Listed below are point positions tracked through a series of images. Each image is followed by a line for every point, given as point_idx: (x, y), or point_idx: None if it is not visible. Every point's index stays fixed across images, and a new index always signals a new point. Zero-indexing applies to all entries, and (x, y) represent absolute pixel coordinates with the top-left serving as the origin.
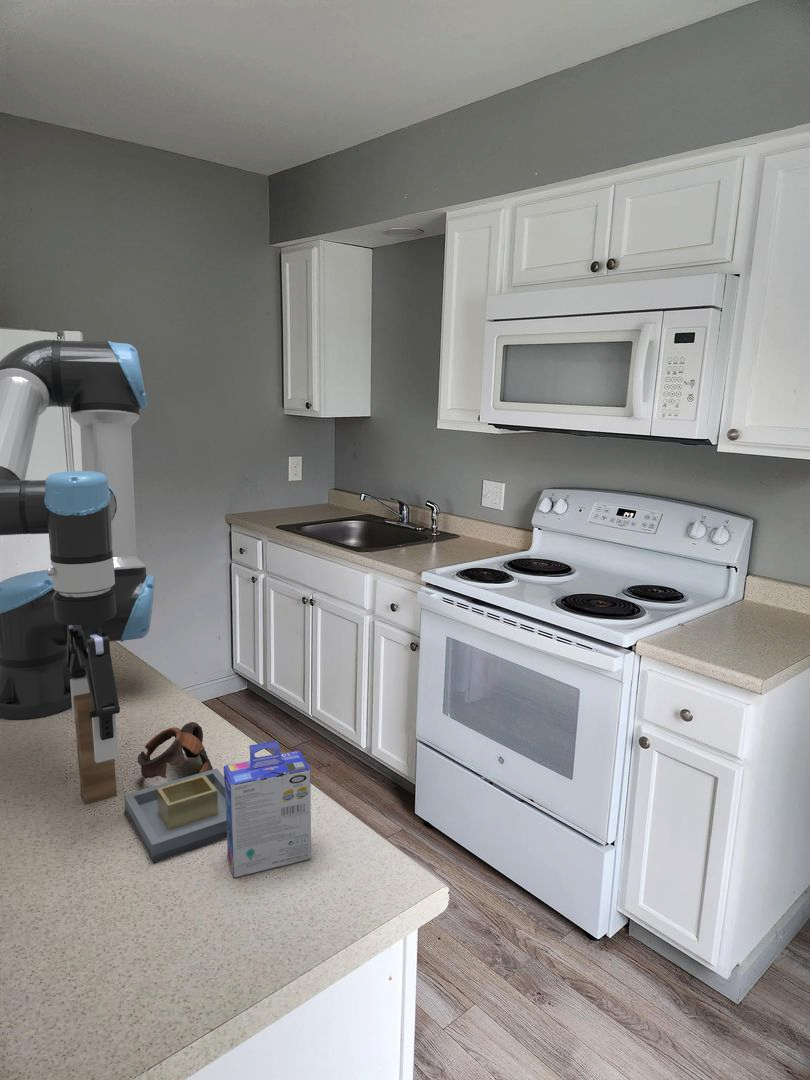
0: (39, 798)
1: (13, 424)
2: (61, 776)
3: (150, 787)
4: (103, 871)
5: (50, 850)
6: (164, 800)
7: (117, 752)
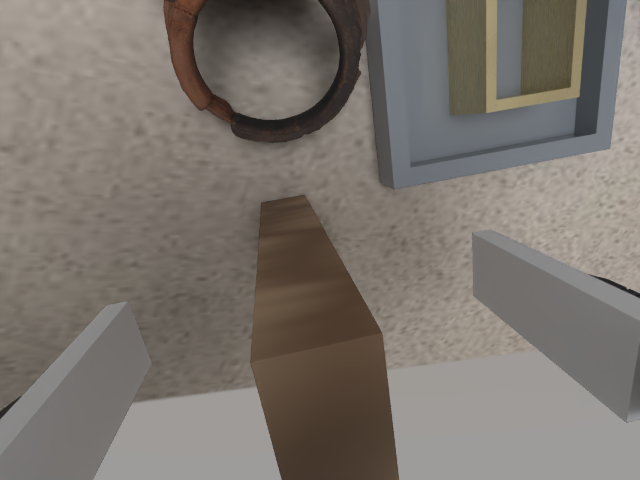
0: None
1: None
2: (169, 307)
3: (387, 121)
4: (544, 229)
5: (441, 309)
6: (552, 101)
7: (502, 235)
